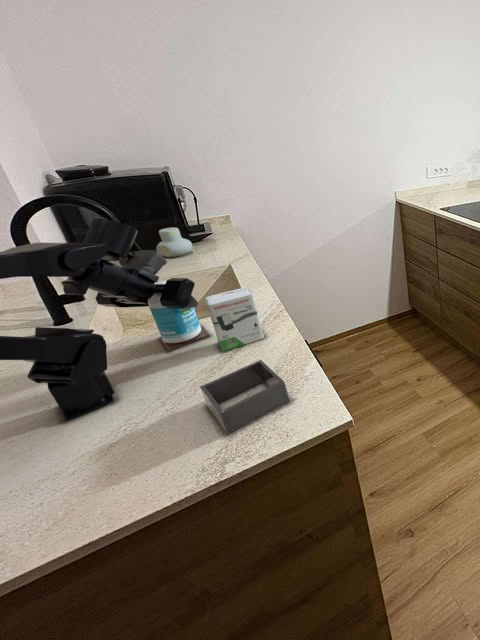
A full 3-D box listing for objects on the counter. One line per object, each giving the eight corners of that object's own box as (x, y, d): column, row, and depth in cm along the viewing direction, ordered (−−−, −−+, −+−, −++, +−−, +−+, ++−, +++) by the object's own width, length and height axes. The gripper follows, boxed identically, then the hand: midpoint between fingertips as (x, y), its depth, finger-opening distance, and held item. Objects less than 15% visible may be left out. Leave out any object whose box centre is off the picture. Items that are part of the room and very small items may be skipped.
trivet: (169, 351, 84) (168, 349, 83) (160, 339, 88) (159, 336, 88) (210, 336, 89) (209, 334, 89) (199, 325, 94) (198, 323, 94)
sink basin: (227, 434, 61) (219, 413, 60) (207, 406, 68) (199, 386, 66) (289, 401, 68) (284, 381, 67) (266, 378, 75) (260, 359, 73)
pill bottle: (198, 340, 86) (178, 287, 81) (159, 348, 84) (135, 294, 78) (205, 325, 93) (187, 275, 87) (169, 332, 90) (148, 280, 85)
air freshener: (198, 252, 145) (190, 227, 141) (177, 259, 138) (168, 233, 134) (177, 250, 148) (168, 225, 144) (155, 257, 141) (145, 231, 137)
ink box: (222, 352, 83) (206, 305, 78) (218, 343, 86) (202, 297, 82) (265, 338, 88) (252, 292, 83) (260, 329, 92) (247, 285, 87)
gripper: (171, 243, 74) (226, 272, 89) (85, 242, 76) (153, 271, 90) (151, 296, 70) (212, 318, 85) (61, 294, 72) (136, 315, 86)
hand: (178, 304), depth 87 cm, fingers open, 9 cm apart
